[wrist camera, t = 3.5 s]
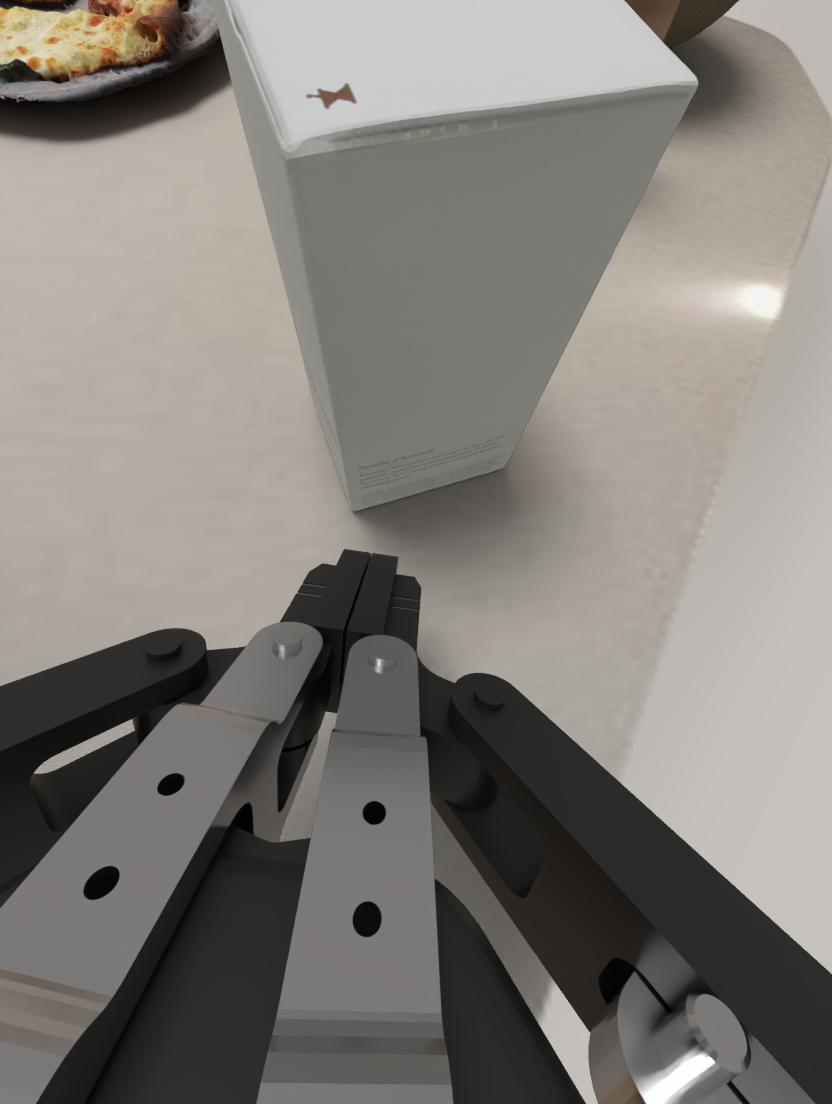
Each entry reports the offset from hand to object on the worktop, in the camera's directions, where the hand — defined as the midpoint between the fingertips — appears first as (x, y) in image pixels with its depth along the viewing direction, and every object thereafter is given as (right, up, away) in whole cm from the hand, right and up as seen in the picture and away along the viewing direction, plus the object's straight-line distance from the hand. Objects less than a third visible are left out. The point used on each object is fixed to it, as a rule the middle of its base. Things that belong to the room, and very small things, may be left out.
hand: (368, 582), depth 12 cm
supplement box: (+1, +7, +8) cm, 10 cm away
